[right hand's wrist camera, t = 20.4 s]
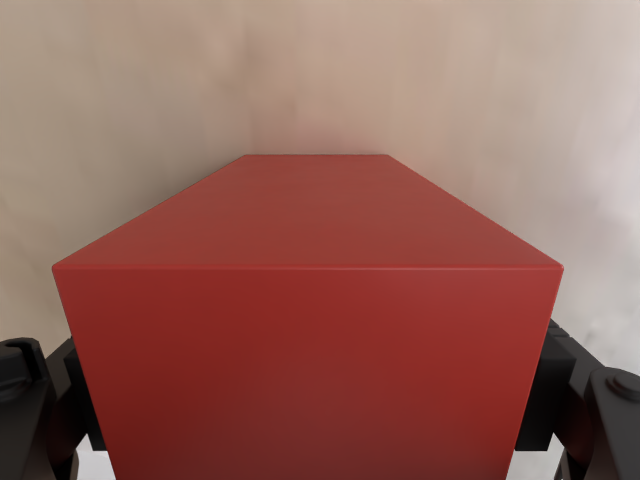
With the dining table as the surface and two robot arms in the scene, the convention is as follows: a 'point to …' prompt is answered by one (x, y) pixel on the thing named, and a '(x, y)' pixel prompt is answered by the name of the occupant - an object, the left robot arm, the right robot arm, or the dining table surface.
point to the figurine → (93, 463)
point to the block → (309, 327)
